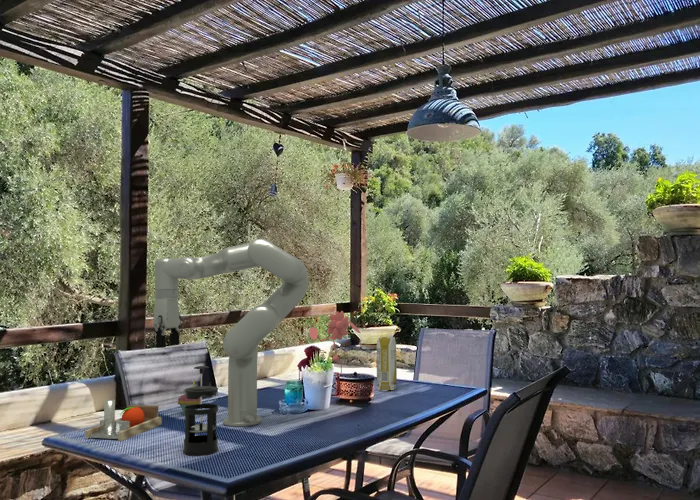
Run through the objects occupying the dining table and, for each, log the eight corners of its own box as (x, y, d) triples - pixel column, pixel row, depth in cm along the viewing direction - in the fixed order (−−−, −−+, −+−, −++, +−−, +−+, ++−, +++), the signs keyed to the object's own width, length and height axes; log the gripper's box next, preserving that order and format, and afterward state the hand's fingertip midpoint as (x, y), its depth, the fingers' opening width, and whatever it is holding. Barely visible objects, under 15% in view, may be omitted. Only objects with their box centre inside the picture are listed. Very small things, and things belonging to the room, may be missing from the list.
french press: (226, 451, 162) (227, 366, 164) (196, 458, 156) (197, 369, 157) (202, 444, 170) (203, 362, 172) (172, 450, 163) (173, 366, 165)
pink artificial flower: (303, 395, 248) (305, 311, 250) (349, 388, 266) (350, 309, 268) (327, 401, 237) (328, 312, 239) (373, 393, 255) (374, 311, 256)
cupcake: (190, 410, 220) (190, 377, 221) (207, 412, 216) (207, 378, 216) (172, 414, 212) (172, 380, 213) (189, 416, 208) (190, 382, 209)
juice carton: (394, 392, 255) (393, 335, 257) (376, 391, 257) (375, 335, 258) (397, 388, 264) (396, 334, 266) (380, 388, 266) (379, 334, 268)
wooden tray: (127, 423, 199) (128, 404, 199) (161, 424, 196) (161, 406, 196) (84, 439, 177) (85, 418, 178) (121, 441, 175) (122, 420, 175)
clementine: (125, 433, 185) (125, 409, 185) (114, 429, 189) (114, 407, 190) (148, 428, 191) (148, 405, 191) (137, 425, 195) (137, 403, 196)
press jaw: (102, 432, 183) (103, 398, 184) (129, 434, 181) (130, 399, 182) (90, 437, 178) (91, 401, 178) (118, 438, 175) (118, 402, 176)
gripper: (168, 295, 210) (169, 344, 209) (143, 296, 193) (144, 349, 192) (188, 294, 209) (189, 343, 207) (165, 295, 192) (166, 348, 190)
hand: (168, 346), depth 200 cm, fingers open, 9 cm apart
